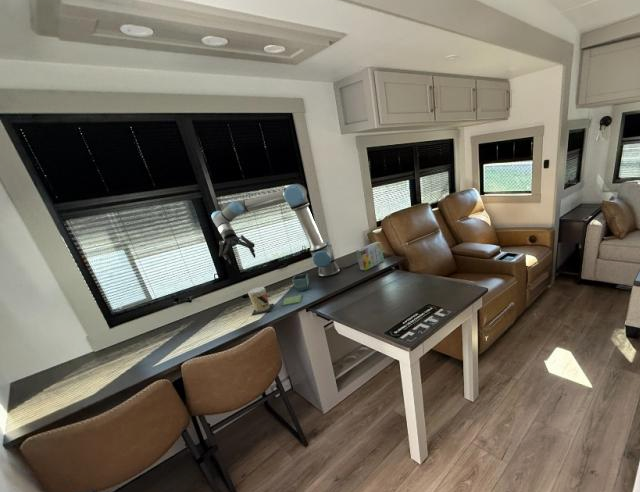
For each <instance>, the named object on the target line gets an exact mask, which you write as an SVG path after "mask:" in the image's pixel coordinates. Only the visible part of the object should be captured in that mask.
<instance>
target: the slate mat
mask: <svg viewBox="0 0 640 492" xmlns="http://www.w3.org/2000/svg"><path fill="white" fill-rule="evenodd" d="M274 305H275V304H274V303H269V306H270V307H269V308H268V309H267V310H265V311H261V312H257V311H256V310H255V309H254V310H253V312H252V313H251V316H257V315H263V314H267V313H271V311H272V309H273V307H274Z"/></svg>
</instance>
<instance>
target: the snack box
mask: <svg viewBox="0 0 640 492" xmlns="http://www.w3.org/2000/svg"><path fill="white" fill-rule="evenodd" d="M355 252H356V258H357V263H358V266H359V267H358V268H359V270H360V271H363V272H365V271H367V270H369V269H372V268H374V267H375V266H377V265H379V264H382V263H383V262H385V258H384V257H385V256H384V251H383V246H382V242H381V241H375V242H372V243H370V244H367V245H366V246H363V247H361V248H359V249H357V250H355Z"/></svg>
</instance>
